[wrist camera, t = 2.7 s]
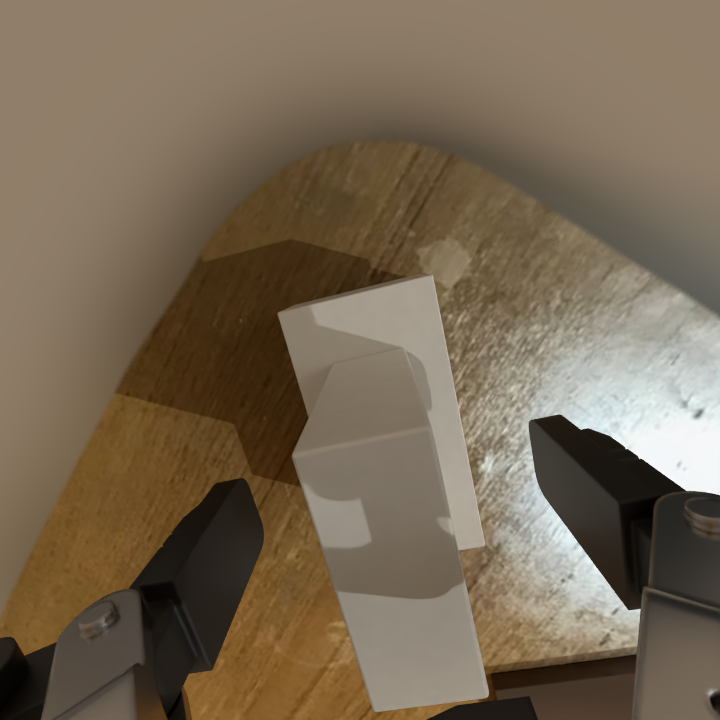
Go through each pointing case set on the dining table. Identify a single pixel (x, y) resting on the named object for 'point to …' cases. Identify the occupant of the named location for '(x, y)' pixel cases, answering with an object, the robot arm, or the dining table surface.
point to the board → (574, 689)
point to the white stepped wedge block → (390, 486)
